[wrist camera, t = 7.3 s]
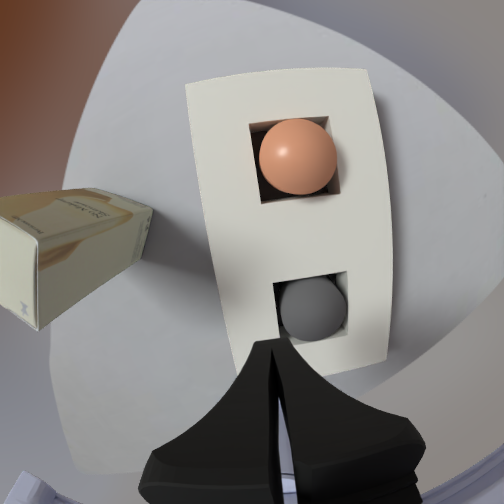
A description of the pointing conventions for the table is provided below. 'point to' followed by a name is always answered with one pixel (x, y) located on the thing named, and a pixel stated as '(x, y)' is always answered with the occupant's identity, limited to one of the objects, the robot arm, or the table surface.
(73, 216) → the skincare box
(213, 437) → the robot arm
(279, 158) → the terracotta button
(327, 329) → the grey rounded piece
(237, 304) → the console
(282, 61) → the table surface
